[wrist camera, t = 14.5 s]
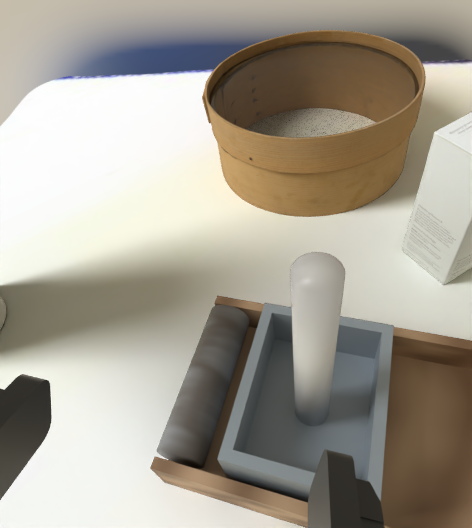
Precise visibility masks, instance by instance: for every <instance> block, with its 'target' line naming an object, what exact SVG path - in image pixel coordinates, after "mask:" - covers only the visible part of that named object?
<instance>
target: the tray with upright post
mask: <svg viewBox="0 0 472 528" xmlns="http://www.w3.org/2000/svg"><path fill="white" fill-rule="evenodd" d="M290 278H291V306H292V308H291V307H286V306H280V305H274V304H269V303H264V307H263V310H262V313H261V317H260V320H259V323H258V327H257V330H256V333H255V336H254V340H253V343H252V346H251V350H250V353H249V356H248V360H247V363H246V366H245V370H244V373H243V376H242V379H241V383H240V386H239V389H238V393H237V396H236V399H235V403H234V406H233V409H232V412H231V416H230V419H229V422H228V426H227V429H226V432H225V436H224V439H223V442H222V445H221V449H220V452H219V455H218V459H217V460H218V461H219V463H220V465H221V467H222V469H223V471H224V472H225V474H226V476H227V478H228V479H231V480H234V481H238V482H241V483H244V484H248V485H251V486H254V487H258V488H261V489H264V490H267V491H271V492H274V493H277V494H281V495H284V496H287V497H291V498H294V499H297V500H301V501H304V502H307V503H308V499H309V493H310V488H311V485H312V482H313V479H314V476H315V473H316V470H317V467H318V464H319V462H320V459H321V456H322V453H323V451H324V450H325V449H327V450H331V451H335V452H339V453H343V454H347V455H351V456H352V457H353V460H354V467H355V475H356V478H357V479H361V480H365V481H369V482H370V483H371V485H372V487H373V489H374V491H375V492H376V494H377V496H378V498H379V500H380V502H381V489H382V476H383V462H384V449H385V436H386V422H387V409H388V396H389V382H390V369H391V356H392V342H393V329H394V326H393V325H388V324H382V323H376V322H371V321H365V320H359V319H354V318H348V317H342V316H340V312H341V304H342V296H343V288H344V280H345V269H344V267H343V265H342V263H341V262H340V261H339V260H338V259H337V258H335V257H334V256H332V255H330V254H327V253H322V252H312V253H307V254H304V255H302V256H300V257H299V258H298V259H296V260H295V262H294V263H293V264H292V267H291V270H290Z"/></svg>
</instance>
